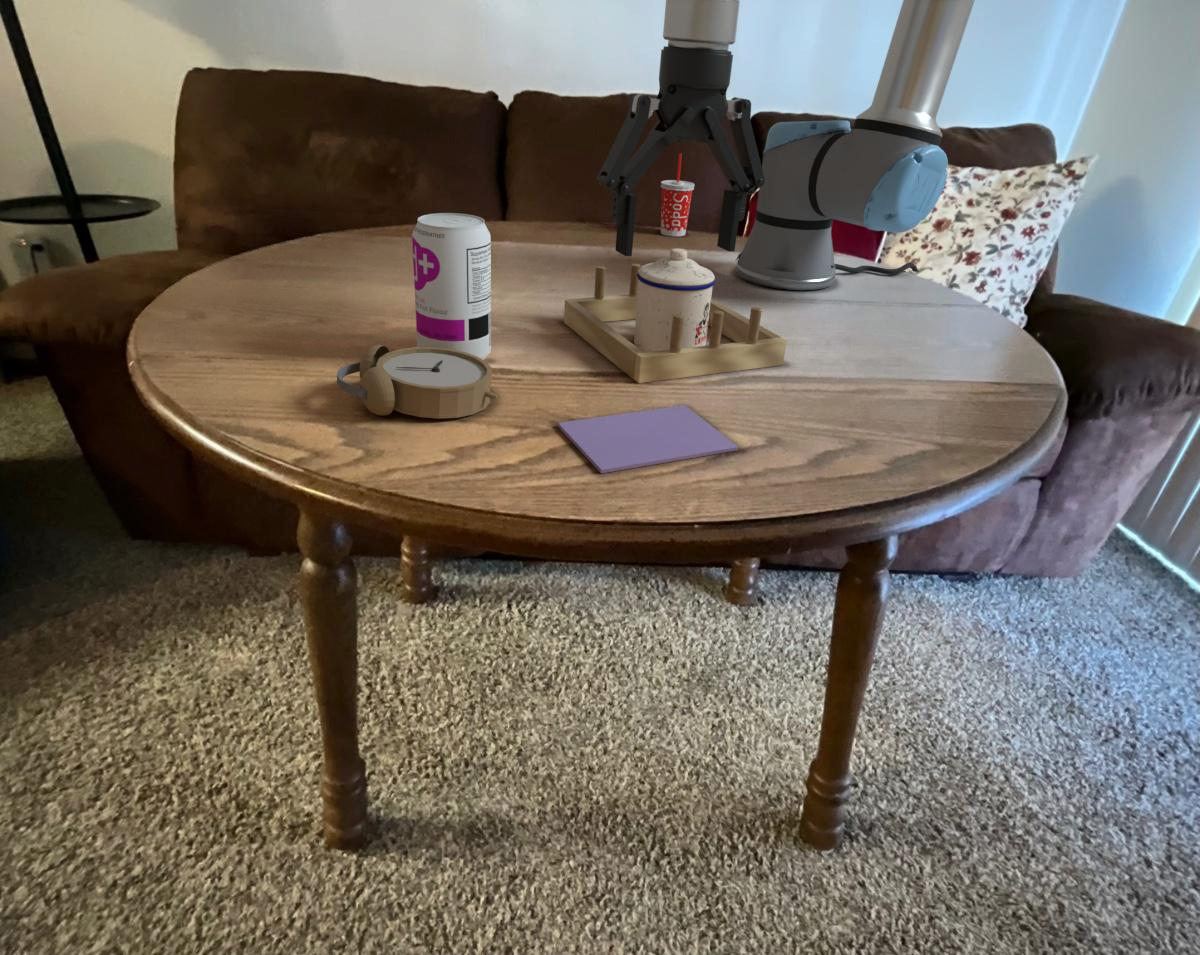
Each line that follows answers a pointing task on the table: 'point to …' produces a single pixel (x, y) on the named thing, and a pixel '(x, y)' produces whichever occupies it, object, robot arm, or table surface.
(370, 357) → the alarm clock
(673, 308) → the teacup with lid
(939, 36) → the robot arm
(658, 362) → the rack
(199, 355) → the table surface
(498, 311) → the table surface
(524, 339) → the table surface
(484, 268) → the supplement can
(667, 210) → the beverage cup
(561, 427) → the mat
